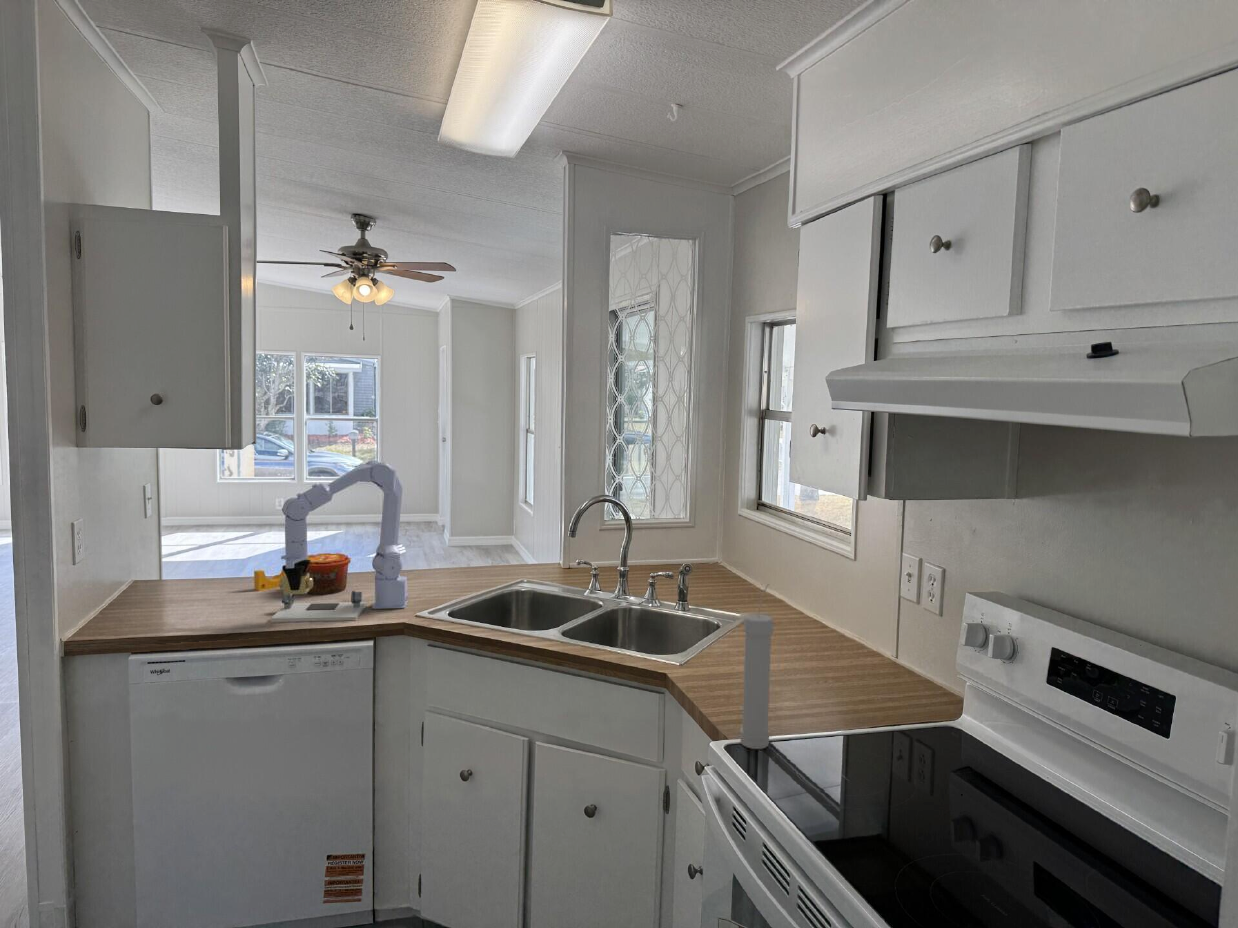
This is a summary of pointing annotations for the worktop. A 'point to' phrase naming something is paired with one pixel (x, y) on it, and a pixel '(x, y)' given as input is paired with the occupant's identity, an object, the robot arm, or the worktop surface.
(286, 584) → the brass valve
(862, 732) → the worktop surface
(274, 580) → the pipe clamp
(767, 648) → the grey piece
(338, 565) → the food container
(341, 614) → the pipe board
